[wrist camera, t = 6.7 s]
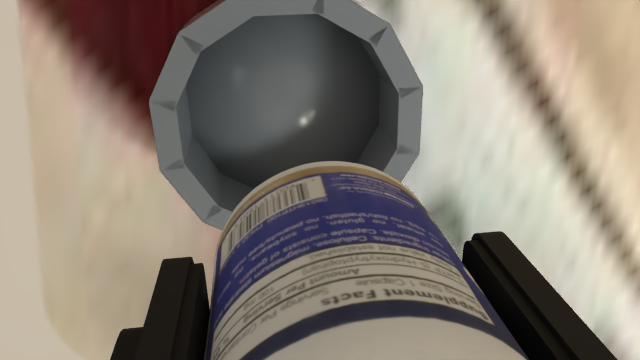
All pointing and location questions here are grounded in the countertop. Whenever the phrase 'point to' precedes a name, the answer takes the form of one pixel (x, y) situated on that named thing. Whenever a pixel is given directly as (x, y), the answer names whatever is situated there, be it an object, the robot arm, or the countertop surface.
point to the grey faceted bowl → (281, 98)
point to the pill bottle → (344, 276)
